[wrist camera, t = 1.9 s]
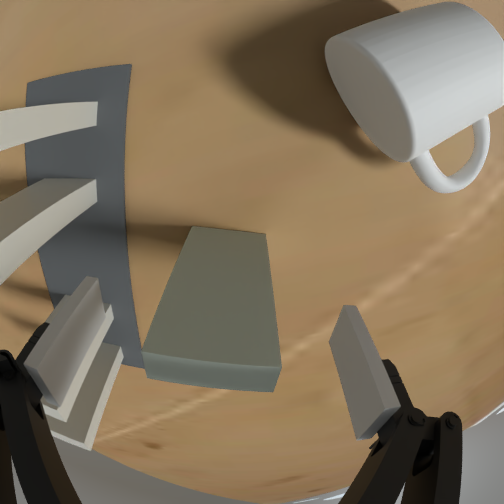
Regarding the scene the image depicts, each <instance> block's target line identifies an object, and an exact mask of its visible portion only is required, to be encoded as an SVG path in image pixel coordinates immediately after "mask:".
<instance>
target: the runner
mask: <svg viewBox="0 0 504 504" xmlns="http://www.w3.org/2000/svg"><path fill="white" fill-rule="evenodd" d="M131 67H132V65H131V64H125V65H116V66H107V67H100V68H93V69H87V70H81V71H75V72H70V73H65V74H60V75H56V76H52V77H48V78H44V79H40V80H36V81H32V82H29V83H28V84H27V95H26V107H31V106H39V105H48V104H59V103H73V102H98V106H97V123H96V126H92V127H87V128H82V129H77V130H73V131H68V132H64V133H60V134H56V135H52V136H48V137H44V138H40V139H37V140H33V141H30V142H26V143H25V156H26V172H27V184H28V186H30V185H32V184H34V183H36V182H38V181H40V180H42V179H44V178H78V179H96V188H97V202H96V203H95V204H93V205H92V206H91V207H89V208H88V209H87V210H85V211H84V212H83V213H81V214H80V215H79V216H77V217H76V218H75V219H74V220H72V221H71V222H70V223H69V224H67V225H66V226H65V227H64V228H62V229H61V230H60V231H59V232H57V233H56V234H55V235H54V236H53V237H51V238H50V239H49V240H48V241H47V242H46V243H44V244H43V245H42V246H41V247H40V248H39V249H38V252H39V256H40V261H41V265H42V269H43V272H44V276H45V280H46V283H47V287H48V290H49V293H50V297H51V300H52V303H53V306H54V309H55V308H56V306H57V305H58V304H59V302H60V301H61V300H62V298H63V297H64V296H65V295H69V296H71V295H72V294H73V292H74V291H75V290H76V288H77V287H78V286H79V285H80V283H81V282H82V281H83V280H84V278H85V277H86V276H89V277H95V278H98V281H99V286H100V292H101V297H102V302H103V303H108V304H111V307H112V312H113V316H114V319H113V321H112V323H111V325H110V327H109V329H108V331H107V333H106V335H105V337H104V339H103V341H102V342H104V343H108V344H113V345H117V346H121V349H122V353H123V360H122V363H121V364H124V365H129V366H133V367H138V368H143V369H145V366H144V362H143V357H142V352H141V351H142V349H141V343H140V338H139V333H138V327H137V321H136V315H135V309H134V302H133V295H132V287H131V279H130V270H129V260H128V249H127V236H126V219H125V190H124V159H125V131H126V115H127V102H128V92H129V83H130V74H131Z"/></svg>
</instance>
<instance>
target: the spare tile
mask: <svg viewBox="0 0 504 504" xmlns="http://www.w3.org/2000/svg"><path fill="white" fill-rule="evenodd" d="M141 352H142V357H143V362H144V366H145V371H146V375H147V378H150V379H155V380H161V381H167V382H173V383H179V384H186V385H193V386H201V387H209V388H219V389H229V390H242V391H258V392H273V391H274V388H275V386H276V383H277V380H278V377H279V374H280V371H281V368H282V364H281V355H280V346H279V338H278V329H277V320H276V312H275V303H274V295H273V287H272V279H271V271H270V263H269V255H268V247H267V239H266V234H261V233H252V232H243V231H234V230H225V229H216V228H207V227H198V226H192V227H191V230H190V232H189V234H188V236H187V238H186V241H185V243H184V245H183V248H182V250H181V252H180V254H179V257H178V259H177V261H176V264H175V266H174V268H173V271H172V273H171V276H170V278H169V280H168V283H167V285H166V288H165V290H164V293H163V295H162V298H161V300H160V303H159V305H158V308H157V310H156V313H155V316H154V318H153V321H152V323H151V326H150V329H149V331H148V334H147V337H146V340H145V342H144V345H143V348H142V351H141Z"/></svg>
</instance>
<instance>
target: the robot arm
mask: <svg viewBox="0 0 504 504" xmlns="http://www.w3.org/2000/svg"><path fill="white" fill-rule="evenodd" d="M105 318H106V315H105V311H104V306H103V302H102V297H101V292H100V286H99V281H98V278H95V277H89V276H86V277H85V278H84V280H83V281H82V282H81V283H80V285H79V286H78V287H77V288H76V290H75V291H74V292H73V294H72V295H71V296H70V297H69V299H68V300H67V301H66V303H65V304H64V305H63V307H62V308H61V309H60V311H59V312H58V313H57V315H56V316H55V318H54V319H53V320H52V322H51V323H47V322H45V323H43V324H42V325H40V326H39V327H38V328H37V329H36V331H35V332H34V333H33V335H32V336H31V338H30V339H29V340H28V342H27V343H26V345H25V346H24V348H23V349H22V351H21V352H20V354H19V355H18V357H17V358H16V360H15V359H14V358H13V356H12V354H11V353H10V352H9V351H7V350H0V504H17V501H16V495H15V489H14V481H13V473H12V462H11V456H12V460H13V463H14V467H15V469H16V473H17V476H18V479H19V482H20V485H21V487H22V490H23V493H24V495H25V498H26V500H27V503H28V504H82V503H81V501H80V499H79V497H78V496H77V493H76V491H75V489H74V487H73V485H72V483H71V481H70V479H69V477H68V475H67V472H66V470H65V468H64V466H63V463H62V461H61V458H60V456H59V453H58V451H57V448H56V445H55V443H54V440H53V437H52V434H51V431H50V428H49V425H48V422H47V418H46V415H45V412H44V408H43V404H42V403H41V401H40V400H41V398H42V396H44V398H45V399H46V401H47V402H48V403H50V404H53V405H55V406H58V407H61V405H62V403H63V400H64V398H65V396H66V394H67V392H68V390H69V387H70V385H71V383H72V381H73V379H74V377H75V375H76V373H77V371H78V369H79V367H80V365H81V363H82V361H83V359H84V357H85V355H86V353H87V351H88V349H89V347H90V345H91V344H92V342H93V340H94V338H95V336H96V334H97V333H98V331H99V329H100V327H101V325H102V324H103V322H104V320H105ZM329 344H330V347H331V350H332V354H333V357H334V360H335V364H336V367H337V371H338V374H339V377H340V381H341V384H342V388H343V391H344V395H345V399H346V402H347V406H348V410H349V413H350V417H351V421H352V425H353V428H354V432H355V436H356V440H363V439H369V438H372V437H373V436H374V435H375V434H376V433H378V436H379V439H377V440H376V441H375V442H374V443H373V444H372V445H371V446H370V448H369V449H372V450H371V452H370V454H369V456H368V457H367V459H366V461H365V463H364V464H363V466H362V468H361V469H360V471H359V473H358V474H357V476H356V478H355V479H354V481H353V482H352V484H351V486H350V487H349V489H348V490H347V492H346V493H345V495H344V496H343V498H342V499H341V501H340V502H339V503H338V504H395V502H396V500H397V498H398V496H399V494H400V492H401V490H402V488H403V486H404V483H405V487H404V491H403V496H402V501H401V504H459V497H460V488H461V474H462V423H461V419H460V418H459V416H458V415H457V414H455V413H453V412H446V413H444V414H443V415H442V416H441V417H440V418H437V417H427V416H426V415H425V414H424V413H423V411H421V410H420V409H417V408H414V407H413V405H412V402H411V400H410V398H409V395H408V393H407V391H406V388H405V386H404V384H403V383H402V380H401V377H399V373H398V371H397V369H396V367H395V365H394V364H393V363H392V362H391V361H390V360H389V359H386V360H381V358H380V356H379V353H378V351H377V349H376V347H375V345H374V342H373V340H372V338H371V336H370V334H369V332H368V329H367V327H366V325H365V323H364V321H363V319H362V317H361V315H360V313H359V311H358V309H357V307H356V306H352V305H343V308H342V310H341V313H340V315H339V318H338V321H337V323H336V326H335V328H334V331H333V333H332V336H331V338H330V340H329ZM405 481H406V482H405Z"/></svg>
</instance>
